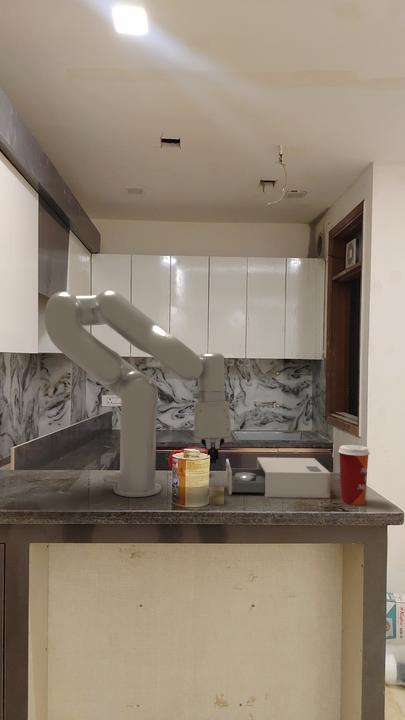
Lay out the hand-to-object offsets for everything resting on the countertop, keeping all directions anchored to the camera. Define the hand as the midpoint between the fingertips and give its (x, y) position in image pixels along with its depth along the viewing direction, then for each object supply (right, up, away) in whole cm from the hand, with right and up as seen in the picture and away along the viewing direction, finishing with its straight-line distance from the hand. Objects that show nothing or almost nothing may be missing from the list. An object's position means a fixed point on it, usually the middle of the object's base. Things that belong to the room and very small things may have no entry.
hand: (213, 462), depth 132 cm
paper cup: (+35, -8, -12) cm, 38 cm away
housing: (+22, -7, 0) cm, 23 cm away
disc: (+9, -6, 0) cm, 11 cm away
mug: (-8, -7, +13) cm, 16 cm away
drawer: (+12, -7, 0) cm, 14 cm away
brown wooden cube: (0, -7, -14) cm, 16 cm away
